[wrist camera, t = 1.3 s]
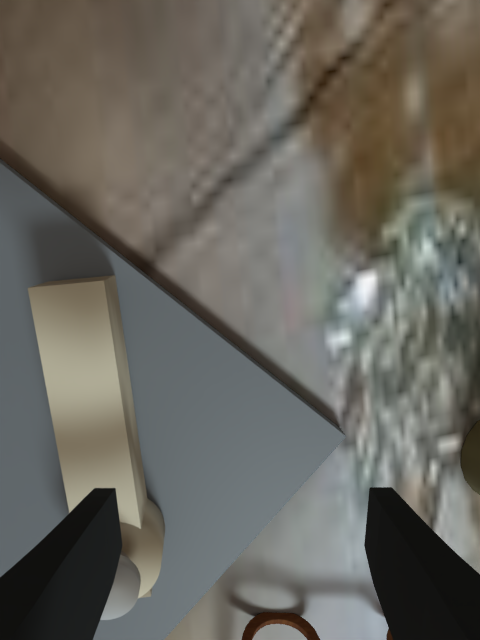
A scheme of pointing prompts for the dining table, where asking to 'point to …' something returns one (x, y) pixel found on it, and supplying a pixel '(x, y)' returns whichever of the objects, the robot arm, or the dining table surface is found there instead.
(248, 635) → the glasses
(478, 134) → the dining table surface
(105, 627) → the charcoal board
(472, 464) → the cork
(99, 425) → the wooden link
